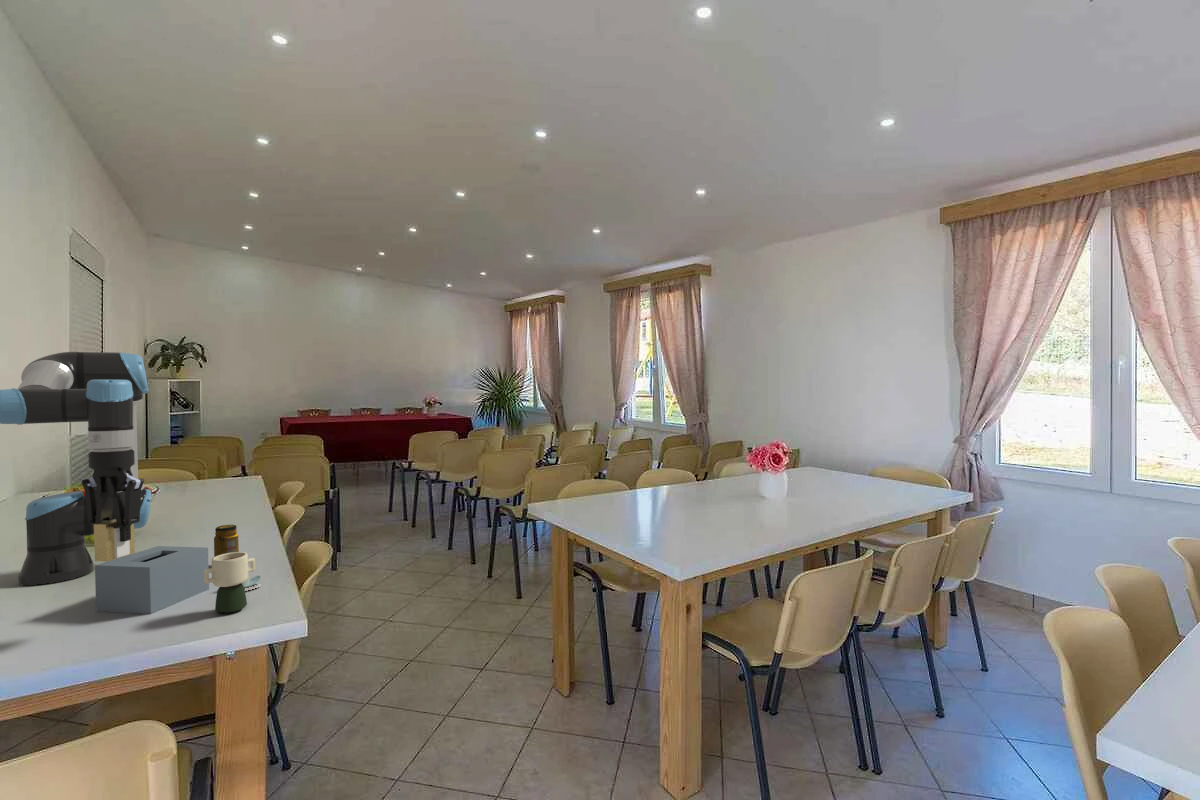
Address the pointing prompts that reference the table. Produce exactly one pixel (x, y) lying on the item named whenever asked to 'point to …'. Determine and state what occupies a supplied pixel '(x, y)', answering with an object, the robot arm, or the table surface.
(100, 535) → the gold brushed block
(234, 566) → the character mug
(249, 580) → the pacifier
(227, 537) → the condiment
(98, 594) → the box
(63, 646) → the table surface
